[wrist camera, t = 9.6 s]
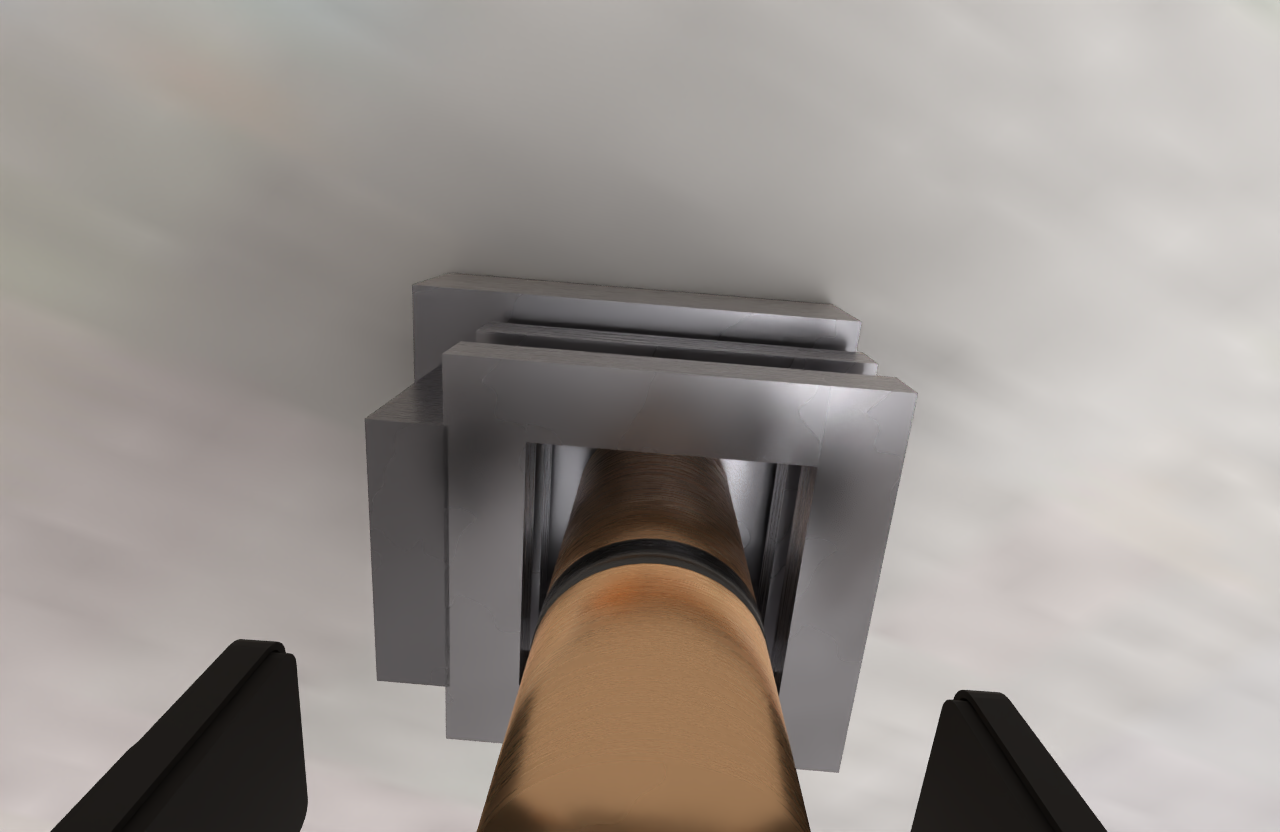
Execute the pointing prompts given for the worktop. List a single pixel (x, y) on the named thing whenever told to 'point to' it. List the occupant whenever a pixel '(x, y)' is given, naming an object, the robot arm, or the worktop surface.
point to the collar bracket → (630, 421)
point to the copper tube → (648, 670)
